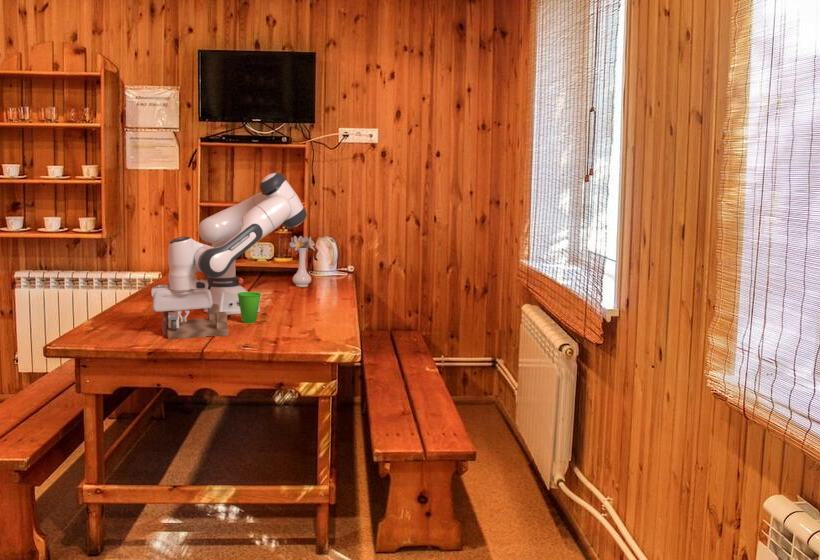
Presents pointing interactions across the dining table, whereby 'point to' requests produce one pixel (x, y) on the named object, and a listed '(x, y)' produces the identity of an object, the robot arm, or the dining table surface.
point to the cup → (249, 306)
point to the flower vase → (301, 260)
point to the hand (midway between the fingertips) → (183, 322)
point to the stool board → (197, 325)
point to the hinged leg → (173, 318)
